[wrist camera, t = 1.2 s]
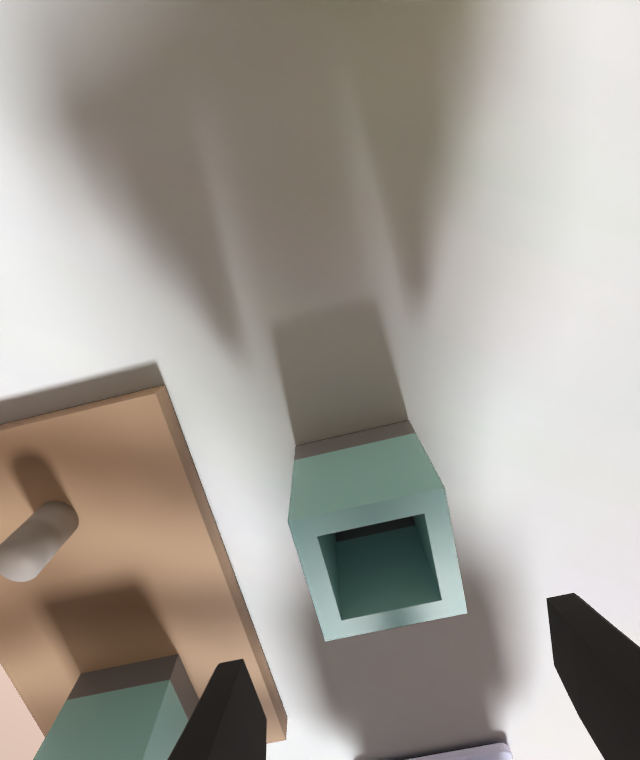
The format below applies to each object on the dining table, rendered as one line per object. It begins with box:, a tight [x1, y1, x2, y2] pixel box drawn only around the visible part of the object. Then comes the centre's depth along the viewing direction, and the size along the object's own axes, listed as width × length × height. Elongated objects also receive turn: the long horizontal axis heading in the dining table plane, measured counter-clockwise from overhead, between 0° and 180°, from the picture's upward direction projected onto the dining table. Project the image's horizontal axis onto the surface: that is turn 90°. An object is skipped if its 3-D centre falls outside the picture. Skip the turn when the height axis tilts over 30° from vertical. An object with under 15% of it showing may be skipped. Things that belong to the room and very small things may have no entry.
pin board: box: [0, 385, 287, 744], centre depth 18 cm, size 18×11×4 cm, turn 14°
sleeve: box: [288, 421, 468, 642], centre depth 16 cm, size 5×5×5 cm
